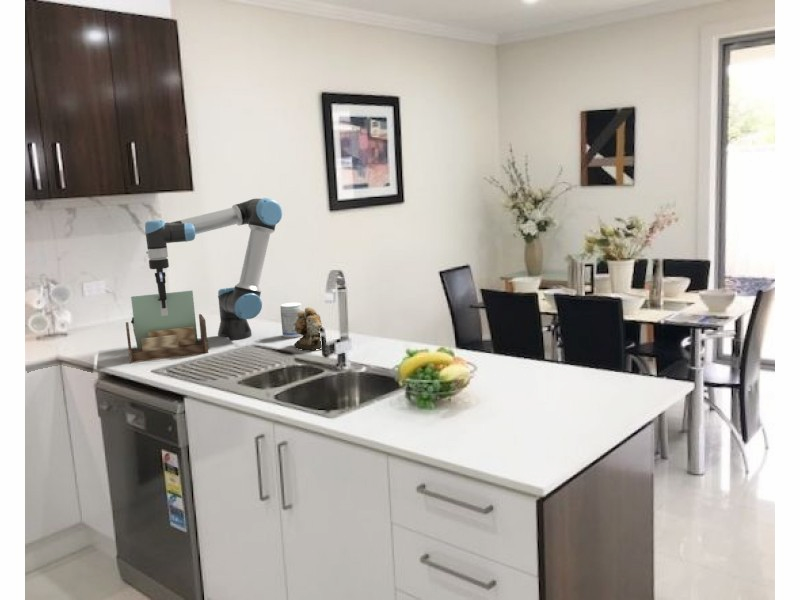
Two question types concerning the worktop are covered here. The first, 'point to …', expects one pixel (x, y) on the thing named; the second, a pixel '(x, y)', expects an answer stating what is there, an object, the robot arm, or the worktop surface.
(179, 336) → the offcut oak
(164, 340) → the offcut birch
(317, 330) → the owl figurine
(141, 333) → the sheet
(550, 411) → the worktop surface
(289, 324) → the supplement tub
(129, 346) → the rack
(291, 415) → the worktop surface
